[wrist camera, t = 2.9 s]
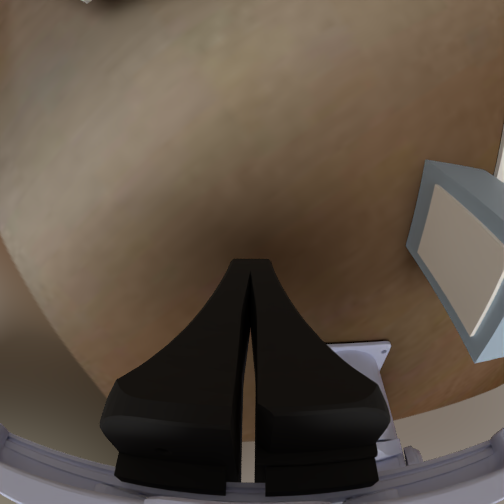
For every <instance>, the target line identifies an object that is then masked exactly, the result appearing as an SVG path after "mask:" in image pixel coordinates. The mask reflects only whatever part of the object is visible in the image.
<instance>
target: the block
mask: <svg viewBox="0 0 504 504" xmlns="http://www.w3.org/2000/svg"><path fill="white" fill-rule="evenodd" d="M406 247H407V249H408V250H409V252H410V253H411V255H412V256H413V258H414V259H415V261H416V262H417V264H418V266H419V267H420V269H421V270H422V272H423V273H424V275H425V276H426V278H427V280H428V281H429V283H430V284H431V286H432V288H433V289H434V291H435V293H436V294H437V296H438V298H439V299H440V301H441V303H442V304H443V306H444V308H445V310H446V311H447V313H448V315H449V316H450V318H451V320H452V322H453V324H454V325H455V327H456V329H457V331H458V333H459V335H460V336H461V338H462V340H463V342H464V344H465V346H466V348H467V350H468V352H469V354H470V356H471V358H472V360H473V362H474V363H479V362H483V361H488V360H492V359H496V358H500V357H504V183H503V182H502V181H500V180H499V179H497V178H496V177H494V176H493V175H491V174H490V173H488V172H487V171H485V170H482V169H477V168H472V167H467V166H461V165H456V164H450V163H444V162H438V161H431V160H425V165H424V170H423V175H422V180H421V185H420V190H419V194H418V199H417V203H416V207H415V212H414V216H413V220H412V224H411V228H410V232H409V235H408V239H407V243H406Z"/></svg>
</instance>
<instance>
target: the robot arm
mask: <svg viewBox="0 0 504 504" xmlns="http://www.w3.org/2000/svg"><path fill="white" fill-rule="evenodd" d="M250 327H251V337H252V348H253V359H254V369H255V383H256V407H255V483H241V457H242V456H241V455H242V412H243V383H244V373H245V366H246V358H247V351H248V343H249V335H250ZM390 348H391V344H390V342H389V341H379V342H364V343H346V344H325V343H324V342H323V341H322V340H321V339H320V337H319V336H318V335H317V334H316V333H315V332H314V331H313V330H312V329H311V327H310V326H309V325H308V324H307V323H306V322H305V320H304V319H303V318H302V316H301V315H300V314H299V312H298V311H297V309H296V308H295V307H294V305H293V304H292V302H291V301H290V299H289V297H288V296H287V294H286V292H285V291H284V289H283V287H282V286H281V284H280V282H279V280H278V278H277V276H276V274H275V271H274V269H273V266H272V263H271V261H270V260H269V259H233V260H232V261H231V262H230V265H229V267H228V269H227V271H226V273H225V275H224V277H223V279H222V280H221V282H220V284H219V285H218V287H217V288H216V290H215V291H214V293H213V295H212V296H211V297H210V299H209V300H208V301H207V303H206V304H205V305H204V307H203V308H202V309H201V311H200V312H199V313H198V314H197V316H196V317H195V318H194V319H193V320H192V321H191V322H190V323H189V325H188V326H187V327H186V328H185V329H184V330H183V331H182V332H181V333H180V334H179V335H178V336H177V337H175V338H174V339H173V340H172V341H171V342H170V343H169V344H168V345H167V346H165V347H164V348H163V349H162V350H160V351H159V352H158V353H157V354H155V355H154V356H153V357H151V358H150V359H149V360H147V361H146V362H145V363H143V364H142V365H140V366H139V367H137V368H136V369H134V370H132V371H131V372H129V373H127V374H126V375H124V376H122V377H121V378H119V379H117V380H116V381H115V384H114V386H113V388H112V390H111V391H110V394H109V396H108V398H107V401H106V404H105V407H104V410H103V413H102V416H101V420H100V428H101V430H102V432H103V433H104V435H105V436H106V437H107V439H108V440H109V441H110V442H111V443H112V444H113V445H114V446H115V448H116V449H117V450H118V451H119V455H118V459H117V463H116V467H114V466H110V465H106V464H102V463H98V462H94V461H90V460H86V459H83V458H80V457H76V456H73V455H70V454H66V453H63V452H60V451H57V450H54V449H51V448H48V447H46V446H43V445H40V444H37V443H35V442H32V441H30V440H27V439H25V438H22V437H20V436H17V435H15V434H12V433H10V432H8V430H7V429H6V428H5V427H4V426H3V425H2V424H1V423H0V494H1V495H3V496H5V497H7V498H8V499H10V500H12V501H14V502H16V503H18V504H496V503H498V502H499V501H501V500H503V499H504V428H502V429H501V430H499V431H498V432H497V433H496V434H494V435H493V436H492V437H491V439H490V440H488V441H485V442H483V443H480V444H478V445H475V446H472V447H469V448H466V449H464V450H461V451H458V452H455V453H452V454H448V455H445V456H442V457H439V458H435V459H431V460H428V461H424V462H423V459H422V456H421V454H420V451H419V450H417V449H414V448H413V447H412V446H408V447H405V448H404V454H405V459H406V460H404V456H403V452H402V448H401V443H400V439H399V438H397V434H396V430H395V426H394V422H393V418H392V415H391V411H390V407H389V403H388V400H387V396H386V393H385V389H384V386H383V382H382V379H381V375H380V372H379V371H380V369H381V367H382V365H383V363H384V361H385V359H386V357H387V354H388V352H389V350H390ZM405 462H406V464H405ZM146 497H148V498H146Z"/></svg>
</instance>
